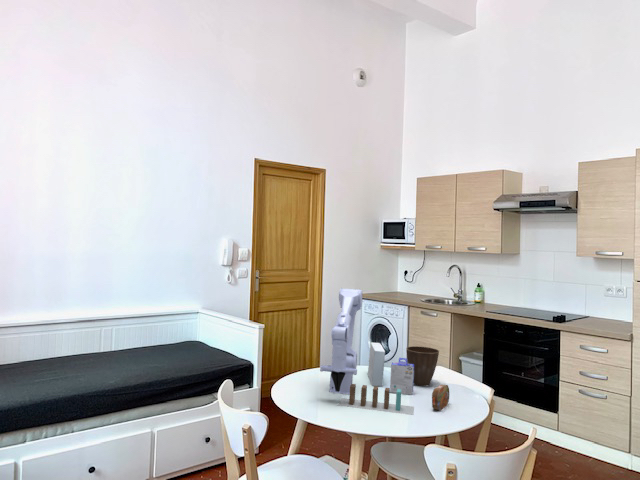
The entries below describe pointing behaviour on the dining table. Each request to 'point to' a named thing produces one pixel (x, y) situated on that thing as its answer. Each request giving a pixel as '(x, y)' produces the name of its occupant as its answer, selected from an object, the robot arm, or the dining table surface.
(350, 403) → the walnut tile
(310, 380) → the dining table surface
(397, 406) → the teal end tile
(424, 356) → the plant pot
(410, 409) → the mat
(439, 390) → the tin
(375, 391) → the walnut tile
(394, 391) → the ink cartridge box
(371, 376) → the skincare box
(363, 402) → the walnut tile
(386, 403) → the walnut tile
